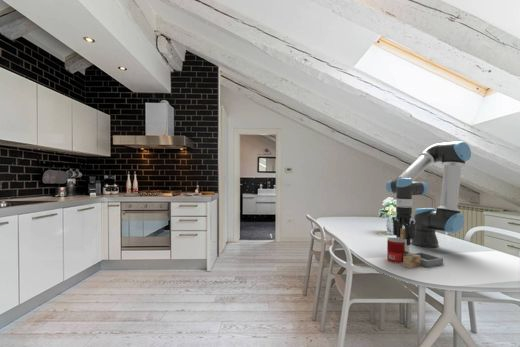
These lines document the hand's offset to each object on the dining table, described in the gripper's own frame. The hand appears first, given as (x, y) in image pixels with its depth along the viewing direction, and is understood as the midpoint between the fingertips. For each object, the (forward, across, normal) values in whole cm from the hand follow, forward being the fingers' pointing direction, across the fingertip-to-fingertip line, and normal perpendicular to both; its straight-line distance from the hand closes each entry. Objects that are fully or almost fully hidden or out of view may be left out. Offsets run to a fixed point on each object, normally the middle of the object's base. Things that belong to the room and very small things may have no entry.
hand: (403, 249), depth 152 cm
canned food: (+4, +4, -10) cm, 11 cm away
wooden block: (+4, +13, -10) cm, 17 cm away
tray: (+4, +11, +1) cm, 12 cm away
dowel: (+4, 0, 0) cm, 4 cm away
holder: (+4, 0, 0) cm, 4 cm away
